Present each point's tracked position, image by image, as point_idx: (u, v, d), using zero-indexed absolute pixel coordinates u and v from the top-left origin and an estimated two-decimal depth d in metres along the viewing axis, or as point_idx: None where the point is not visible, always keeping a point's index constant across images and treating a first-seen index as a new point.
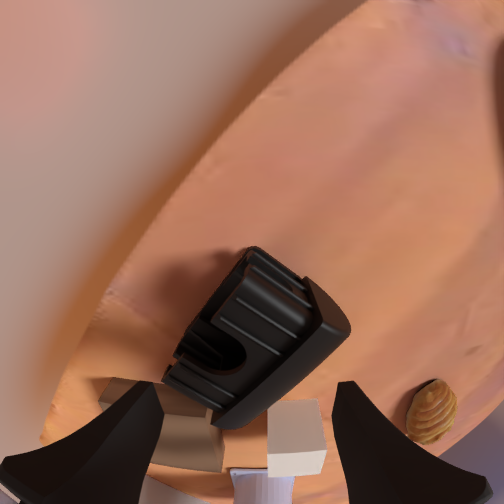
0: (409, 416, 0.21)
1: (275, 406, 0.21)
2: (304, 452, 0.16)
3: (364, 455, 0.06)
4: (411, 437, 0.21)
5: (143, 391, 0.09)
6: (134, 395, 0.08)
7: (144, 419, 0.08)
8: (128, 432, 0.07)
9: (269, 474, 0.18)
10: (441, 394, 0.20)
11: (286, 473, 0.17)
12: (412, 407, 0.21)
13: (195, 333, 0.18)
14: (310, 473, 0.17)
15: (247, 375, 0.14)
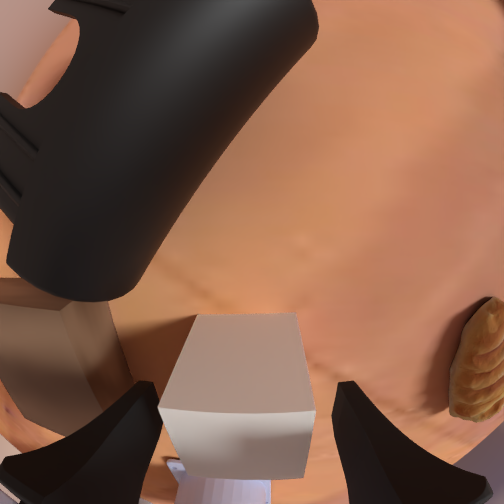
0: (458, 368, 0.12)
1: (209, 321, 0.12)
2: (251, 414, 0.07)
3: (364, 455, 0.06)
4: (459, 409, 0.12)
5: (143, 391, 0.09)
6: (134, 395, 0.08)
7: (144, 419, 0.08)
8: (128, 432, 0.07)
9: (188, 469, 0.08)
10: None
11: (225, 472, 0.08)
12: (463, 349, 0.12)
13: None
14: (280, 476, 0.08)
15: (71, 87, 0.04)
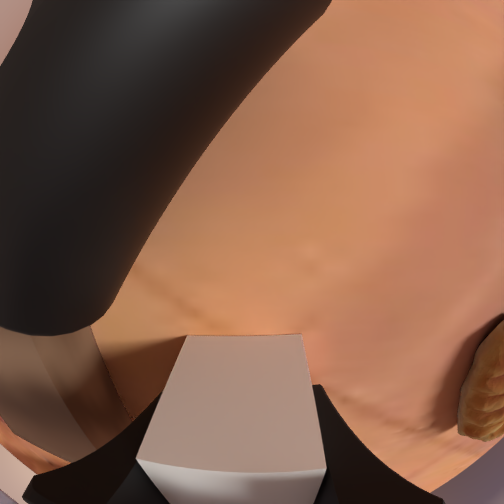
0: (470, 390, 0.10)
1: (200, 346, 0.10)
2: (247, 473, 0.05)
3: None
4: (469, 430, 0.10)
5: None
6: None
7: None
8: None
9: None
10: None
11: None
12: (477, 371, 0.10)
13: None
14: None
15: None
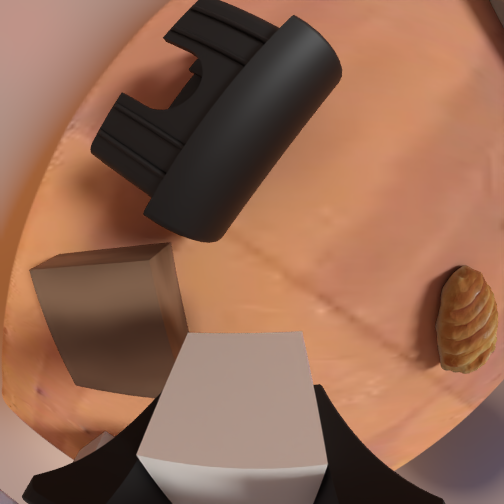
0: (440, 323, 0.17)
1: (201, 343, 0.10)
2: (248, 470, 0.05)
3: None
4: (447, 360, 0.17)
5: None
6: None
7: None
8: None
9: None
10: (477, 282, 0.15)
11: None
12: (442, 306, 0.17)
13: None
14: None
15: (202, 102, 0.09)
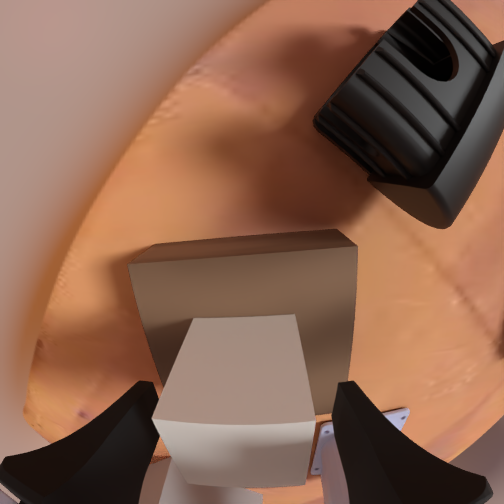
0: None
1: (205, 326, 0.11)
2: (248, 426, 0.06)
3: (364, 455, 0.06)
4: None
5: (143, 391, 0.09)
6: (134, 395, 0.08)
7: (144, 419, 0.08)
8: (128, 432, 0.07)
9: (186, 477, 0.07)
10: None
11: (224, 480, 0.07)
12: None
13: None
14: (281, 483, 0.07)
15: (464, 88, 0.07)
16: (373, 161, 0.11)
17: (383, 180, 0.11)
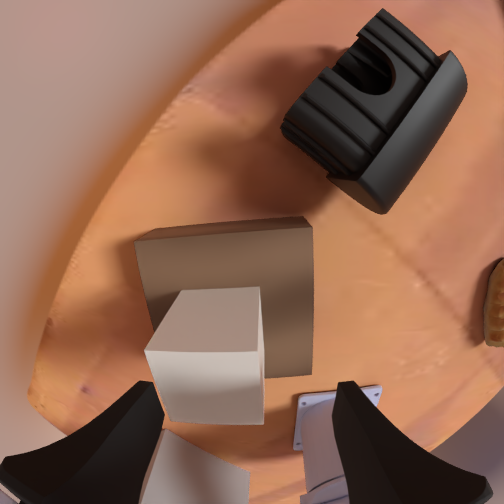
0: (489, 304, 0.18)
1: (189, 295, 0.15)
2: (210, 353, 0.10)
3: (364, 455, 0.06)
4: (493, 336, 0.18)
5: (143, 391, 0.09)
6: (134, 395, 0.08)
7: (144, 419, 0.08)
8: (128, 432, 0.07)
9: (170, 414, 0.11)
10: None
11: (198, 415, 0.11)
12: (491, 290, 0.18)
13: None
14: (243, 421, 0.11)
15: (398, 98, 0.10)
16: (327, 162, 0.14)
17: (335, 176, 0.14)
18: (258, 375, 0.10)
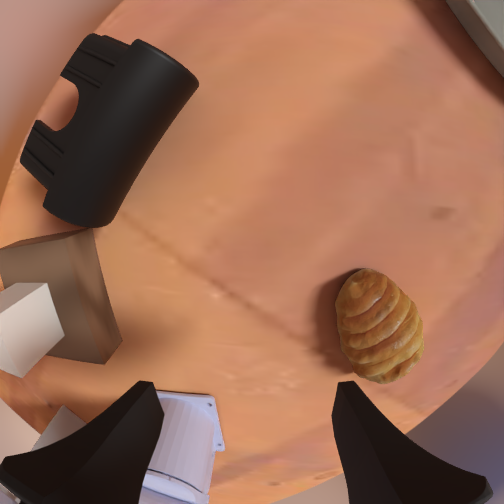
0: (338, 329, 0.19)
1: (14, 286, 0.16)
2: None
3: (364, 455, 0.06)
4: (354, 368, 0.19)
5: (143, 391, 0.09)
6: (134, 395, 0.08)
7: (144, 419, 0.08)
8: (128, 432, 0.07)
9: None
10: (376, 287, 0.17)
11: None
12: (336, 312, 0.19)
13: None
14: (13, 371, 0.12)
15: (77, 123, 0.11)
16: None
17: None
18: (1, 336, 0.11)
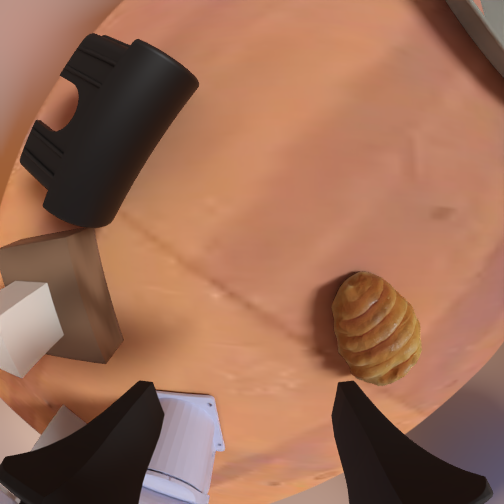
0: (335, 332, 0.19)
1: (14, 284, 0.16)
2: None
3: (364, 455, 0.06)
4: (352, 371, 0.19)
5: (143, 391, 0.09)
6: (134, 395, 0.08)
7: (144, 419, 0.08)
8: (128, 432, 0.07)
9: None
10: (372, 290, 0.17)
11: None
12: (333, 315, 0.19)
13: None
14: (12, 371, 0.12)
15: (77, 123, 0.11)
16: None
17: None
18: (1, 336, 0.11)
